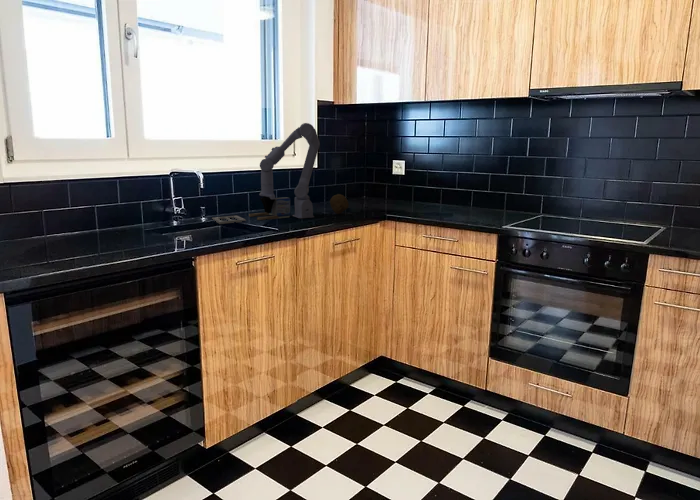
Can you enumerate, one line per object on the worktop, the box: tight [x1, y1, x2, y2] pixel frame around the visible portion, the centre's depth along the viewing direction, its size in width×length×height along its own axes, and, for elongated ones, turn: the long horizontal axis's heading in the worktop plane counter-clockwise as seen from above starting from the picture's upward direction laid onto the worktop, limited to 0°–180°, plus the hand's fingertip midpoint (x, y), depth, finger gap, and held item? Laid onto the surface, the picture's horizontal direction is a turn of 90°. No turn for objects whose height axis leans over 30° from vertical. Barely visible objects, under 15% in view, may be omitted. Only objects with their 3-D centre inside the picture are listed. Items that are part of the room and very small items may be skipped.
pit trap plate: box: [211, 215, 247, 225], centre depth 231 cm, size 13×12×1 cm
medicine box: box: [271, 196, 291, 217], centre depth 243 cm, size 8×4×9 cm, turn 128°
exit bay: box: [268, 213, 291, 219], centre depth 244 cm, size 13×6×1 cm, turn 31°
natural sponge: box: [329, 193, 350, 215], centre depth 247 cm, size 9×9×10 cm
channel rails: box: [248, 211, 279, 221], centre depth 239 cm, size 13×10×1 cm
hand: (268, 212), depth 241 cm, fingers closed
